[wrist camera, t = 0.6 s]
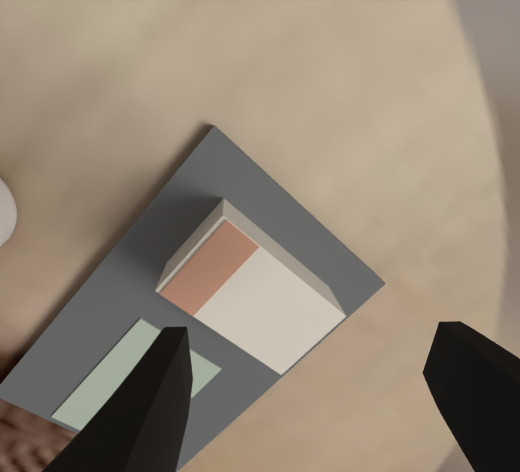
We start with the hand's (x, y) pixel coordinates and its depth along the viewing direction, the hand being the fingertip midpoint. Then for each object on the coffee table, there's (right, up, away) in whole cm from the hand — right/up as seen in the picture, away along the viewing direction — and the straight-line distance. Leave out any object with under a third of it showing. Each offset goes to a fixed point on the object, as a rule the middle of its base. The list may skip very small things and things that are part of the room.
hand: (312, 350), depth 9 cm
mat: (-6, -3, +11) cm, 13 cm away
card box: (-2, +1, +10) cm, 10 cm away
